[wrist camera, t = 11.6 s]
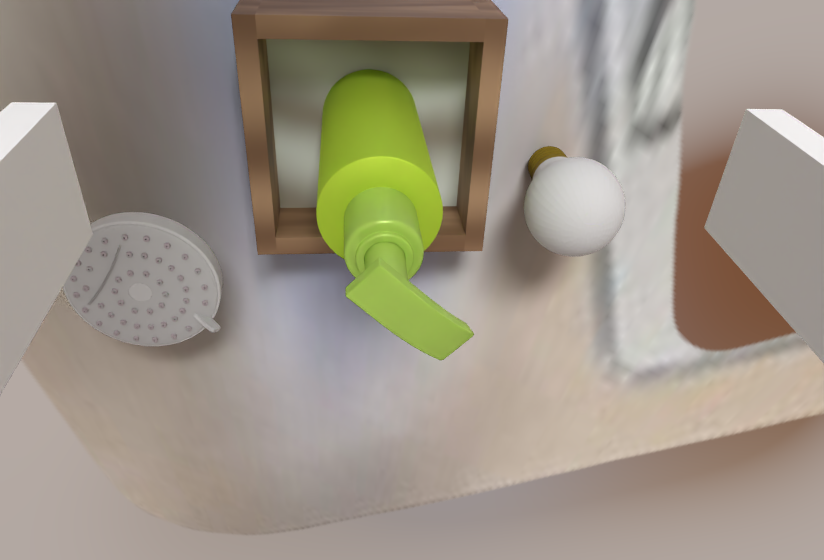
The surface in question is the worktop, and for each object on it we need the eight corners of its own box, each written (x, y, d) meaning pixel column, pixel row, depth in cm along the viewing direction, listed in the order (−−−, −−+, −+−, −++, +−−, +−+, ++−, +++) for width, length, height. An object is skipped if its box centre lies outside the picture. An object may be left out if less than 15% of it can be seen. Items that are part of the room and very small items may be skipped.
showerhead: (186, 380, 44) (31, 318, 40) (205, 315, 50) (71, 255, 46) (253, 281, 40) (88, 201, 36) (265, 223, 46) (124, 149, 42)
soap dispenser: (383, 186, 44) (409, 396, 27) (303, 118, 41) (277, 309, 24) (446, 124, 42) (515, 312, 25) (367, 48, 39) (386, 205, 22)
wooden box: (243, -6, 37) (231, 14, 33) (490, -1, 39) (508, 19, 35) (265, 216, 46) (257, 254, 41) (469, 214, 47) (482, 250, 43)
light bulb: (495, 131, 44) (531, 200, 35) (582, 108, 43) (639, 172, 35) (508, 206, 47) (544, 286, 39) (589, 186, 46) (643, 261, 38)
